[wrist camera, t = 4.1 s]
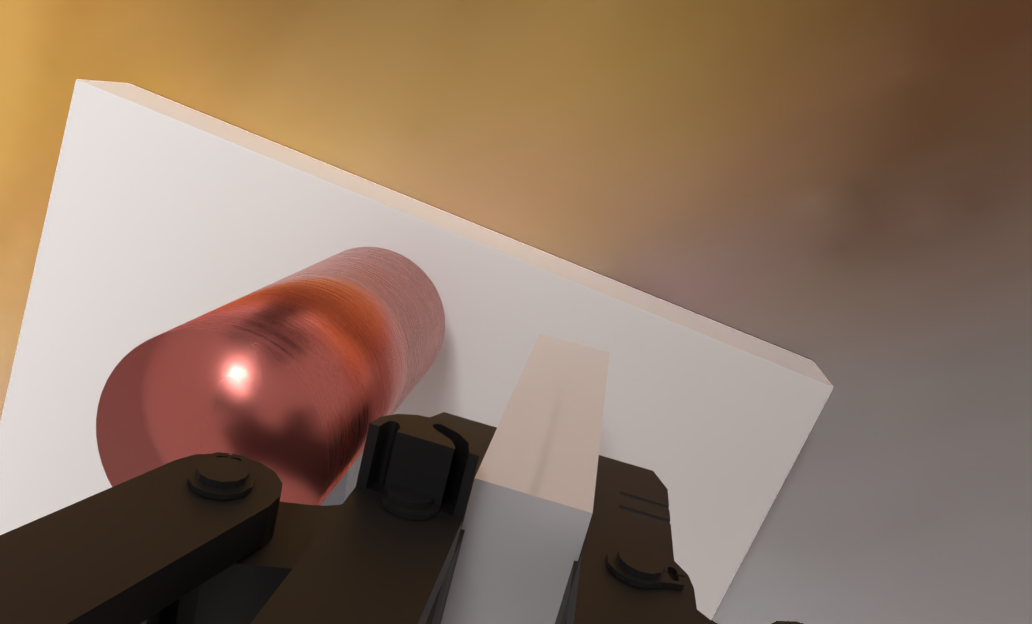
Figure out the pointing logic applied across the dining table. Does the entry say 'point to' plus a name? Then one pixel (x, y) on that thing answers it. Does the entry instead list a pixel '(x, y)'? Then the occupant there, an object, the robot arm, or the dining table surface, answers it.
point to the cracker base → (425, 241)
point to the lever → (279, 375)
